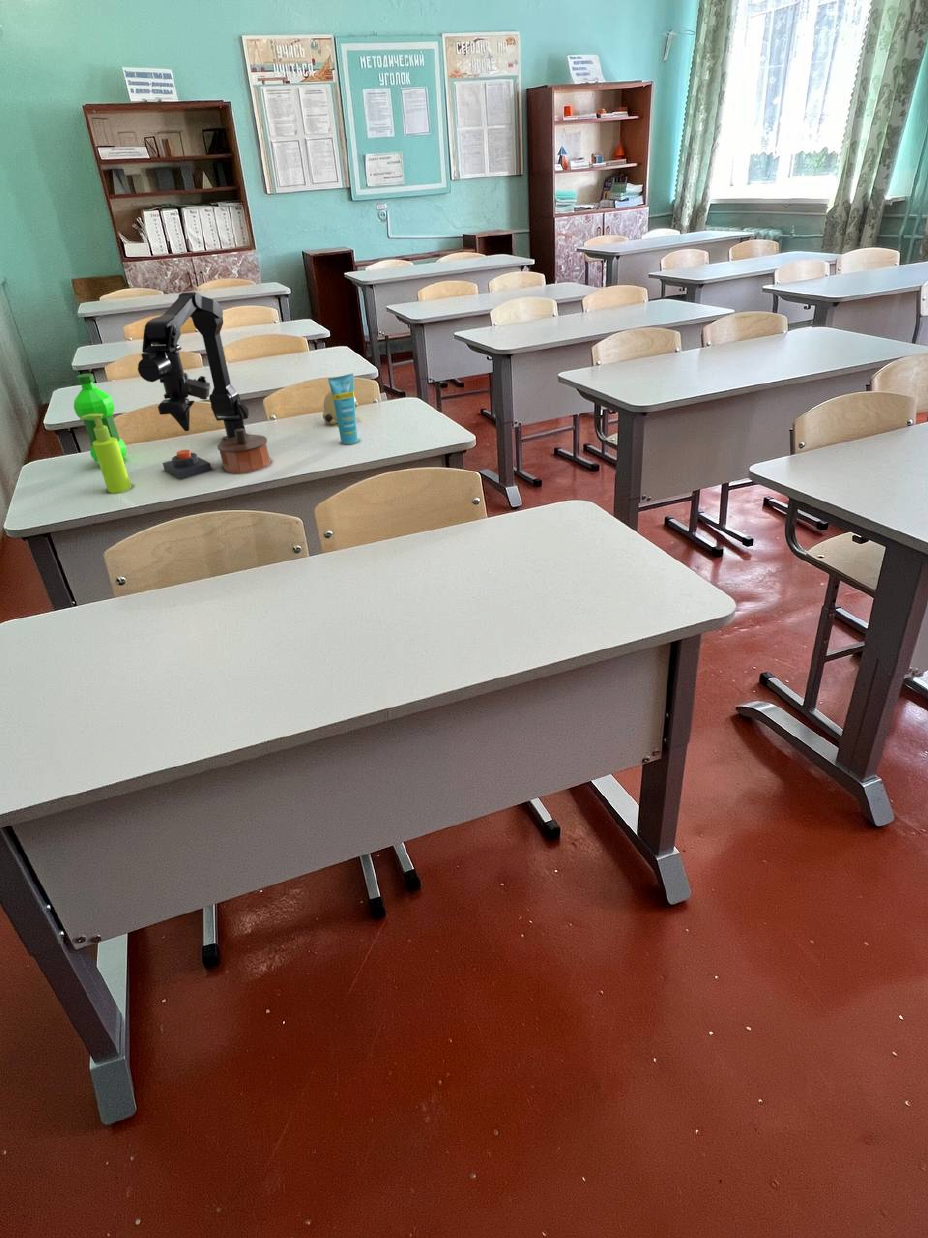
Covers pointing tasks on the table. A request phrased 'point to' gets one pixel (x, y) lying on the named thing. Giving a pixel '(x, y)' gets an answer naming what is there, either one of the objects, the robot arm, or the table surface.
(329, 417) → the toy pig
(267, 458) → the round brown pot
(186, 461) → the box
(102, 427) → the soap dispenser
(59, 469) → the table surface
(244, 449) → the lid
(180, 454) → the button
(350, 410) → the tube
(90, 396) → the plastic bottle
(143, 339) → the robot arm
